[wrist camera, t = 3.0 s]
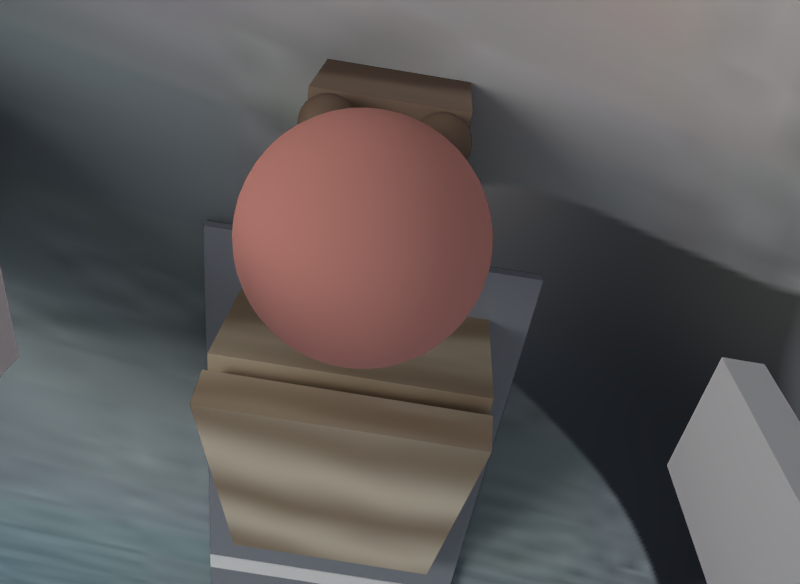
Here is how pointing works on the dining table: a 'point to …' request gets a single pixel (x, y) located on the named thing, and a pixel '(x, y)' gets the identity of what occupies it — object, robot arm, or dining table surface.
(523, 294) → the runway
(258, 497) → the ramp
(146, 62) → the dining table surface
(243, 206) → the ball
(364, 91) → the brown block with bumps
